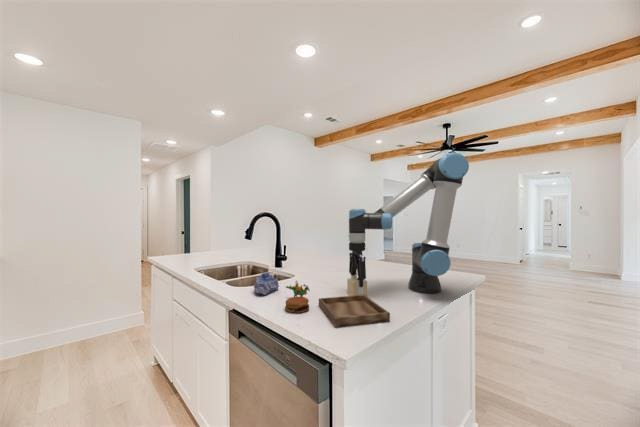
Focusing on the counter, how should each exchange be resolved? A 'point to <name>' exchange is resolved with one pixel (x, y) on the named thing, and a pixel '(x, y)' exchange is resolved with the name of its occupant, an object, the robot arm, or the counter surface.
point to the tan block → (355, 287)
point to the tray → (353, 311)
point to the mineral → (265, 284)
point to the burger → (297, 304)
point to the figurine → (299, 290)
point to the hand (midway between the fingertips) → (357, 291)
